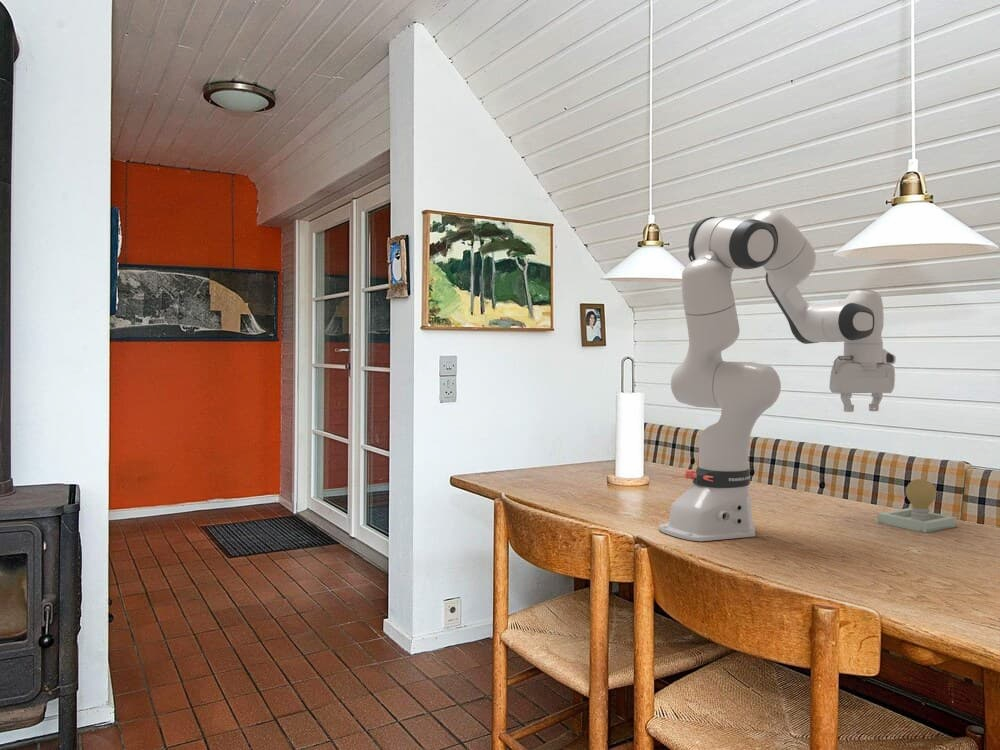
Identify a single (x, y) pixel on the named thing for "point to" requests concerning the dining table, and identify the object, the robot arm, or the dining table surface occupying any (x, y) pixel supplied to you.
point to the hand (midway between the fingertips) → (861, 411)
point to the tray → (917, 521)
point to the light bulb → (920, 498)
